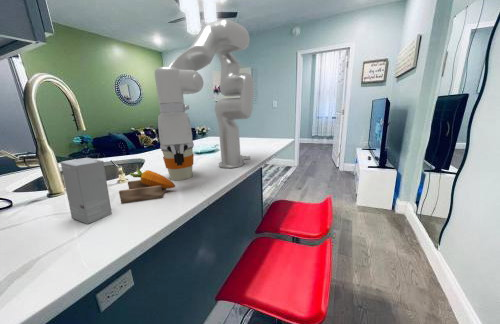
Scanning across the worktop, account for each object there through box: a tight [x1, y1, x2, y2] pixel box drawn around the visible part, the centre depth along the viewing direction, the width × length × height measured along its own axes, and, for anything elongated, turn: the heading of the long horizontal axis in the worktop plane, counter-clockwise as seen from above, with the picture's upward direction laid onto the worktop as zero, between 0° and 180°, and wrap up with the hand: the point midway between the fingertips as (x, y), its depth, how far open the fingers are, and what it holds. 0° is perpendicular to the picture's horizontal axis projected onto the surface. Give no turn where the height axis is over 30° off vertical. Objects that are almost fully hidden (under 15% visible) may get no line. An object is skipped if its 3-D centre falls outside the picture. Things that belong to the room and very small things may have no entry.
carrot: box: [129, 166, 176, 189], centre depth 71 cm, size 5×5×15 cm
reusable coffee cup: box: [160, 144, 194, 181], centre depth 86 cm, size 13×13×15 cm
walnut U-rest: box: [118, 179, 167, 205], centre depth 70 cm, size 12×10×4 cm
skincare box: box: [60, 157, 113, 225], centre depth 55 cm, size 8×7×16 cm
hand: (180, 164), depth 71 cm, fingers closed
